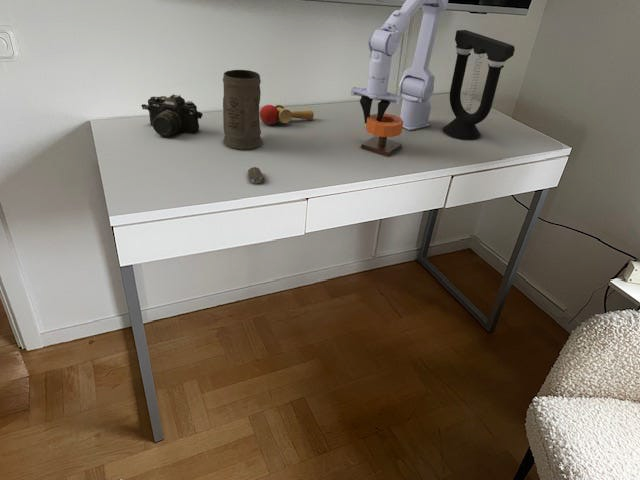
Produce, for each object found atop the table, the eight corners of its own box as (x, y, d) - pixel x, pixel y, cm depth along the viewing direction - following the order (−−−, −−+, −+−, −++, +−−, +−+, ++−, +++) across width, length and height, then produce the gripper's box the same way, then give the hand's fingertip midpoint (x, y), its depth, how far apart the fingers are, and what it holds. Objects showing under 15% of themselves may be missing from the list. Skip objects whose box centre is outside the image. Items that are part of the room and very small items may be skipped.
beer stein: (253, 153, 137) (255, 79, 127) (217, 147, 138) (216, 73, 129) (269, 137, 150) (272, 69, 140) (235, 132, 152) (236, 64, 142)
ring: (384, 122, 150) (385, 111, 149) (408, 133, 144) (410, 121, 142) (359, 128, 145) (360, 117, 143) (382, 139, 139) (384, 128, 137)
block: (259, 172, 127) (259, 166, 126) (265, 183, 123) (265, 176, 122) (245, 174, 126) (245, 167, 125) (251, 184, 122) (251, 178, 121)
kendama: (303, 118, 167) (254, 116, 158) (308, 101, 163) (258, 98, 154) (313, 130, 162) (262, 129, 153) (318, 113, 158) (267, 110, 149)
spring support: (429, 125, 167) (448, 30, 150) (456, 121, 172) (478, 29, 156) (471, 148, 152) (498, 46, 135) (500, 143, 157) (529, 44, 141)
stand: (375, 139, 153) (378, 118, 149) (401, 147, 149) (405, 126, 145) (360, 147, 146) (363, 126, 143) (388, 156, 142) (391, 135, 139)
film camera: (135, 137, 140) (130, 102, 135) (146, 122, 150) (142, 89, 145) (199, 141, 141) (197, 106, 136) (206, 125, 152) (204, 93, 146)
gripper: (349, 75, 136) (344, 122, 144) (400, 84, 132) (392, 133, 140) (357, 69, 142) (352, 115, 149) (406, 78, 138) (398, 125, 145)
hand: (372, 123), depth 145 cm, fingers closed on ring, 3 cm apart
